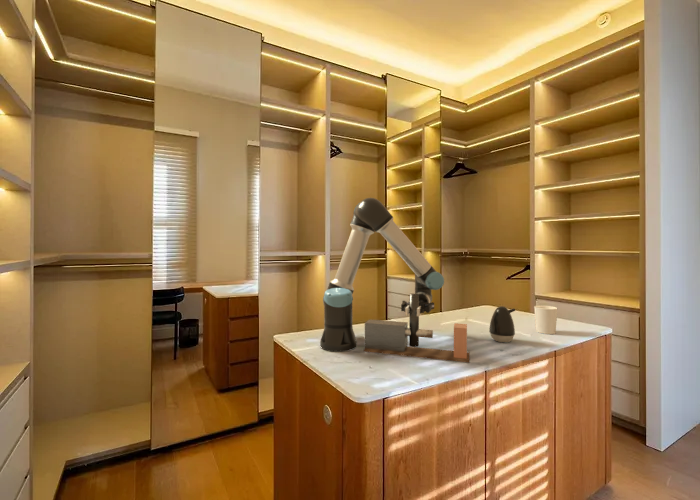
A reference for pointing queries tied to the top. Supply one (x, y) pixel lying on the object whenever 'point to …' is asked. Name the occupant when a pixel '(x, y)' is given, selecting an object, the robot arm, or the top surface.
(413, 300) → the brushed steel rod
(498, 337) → the pump dispenser
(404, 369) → the top surface
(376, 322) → the box on wooden plank
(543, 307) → the candle holder
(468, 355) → the base board
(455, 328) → the socket
